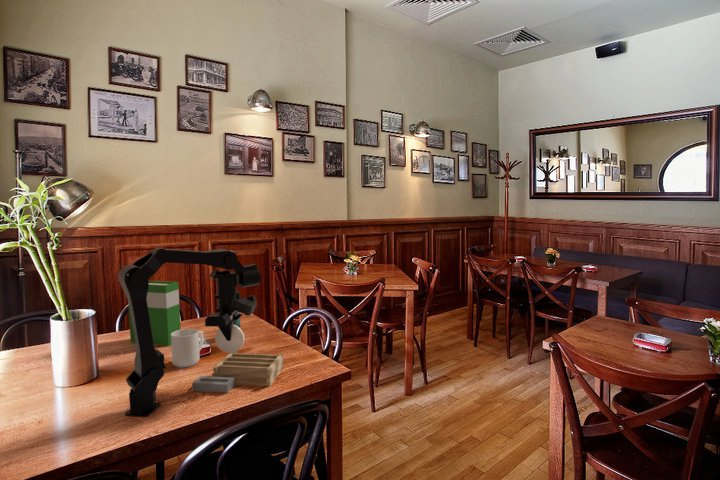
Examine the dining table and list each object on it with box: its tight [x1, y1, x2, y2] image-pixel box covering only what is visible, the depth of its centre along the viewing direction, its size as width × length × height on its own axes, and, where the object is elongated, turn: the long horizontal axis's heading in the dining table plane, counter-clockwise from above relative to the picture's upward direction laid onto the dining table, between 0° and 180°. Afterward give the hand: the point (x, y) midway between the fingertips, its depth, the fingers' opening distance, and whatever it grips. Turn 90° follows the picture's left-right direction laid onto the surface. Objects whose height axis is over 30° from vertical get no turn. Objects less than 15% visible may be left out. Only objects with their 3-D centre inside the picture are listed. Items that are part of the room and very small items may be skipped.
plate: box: [214, 324, 246, 354], centre depth 127 cm, size 1×9×9 cm, turn 83°
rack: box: [212, 352, 285, 387], centre depth 133 cm, size 14×18×5 cm
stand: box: [191, 375, 236, 394], centre depth 124 cm, size 5×11×2 cm, turn 84°
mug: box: [170, 328, 204, 369], centre depth 144 cm, size 12×9×11 cm
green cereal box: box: [127, 280, 182, 347], centre depth 165 cm, size 18×7×24 cm, turn 77°
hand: (229, 339), depth 127 cm, fingers closed on plate, 1 cm apart
